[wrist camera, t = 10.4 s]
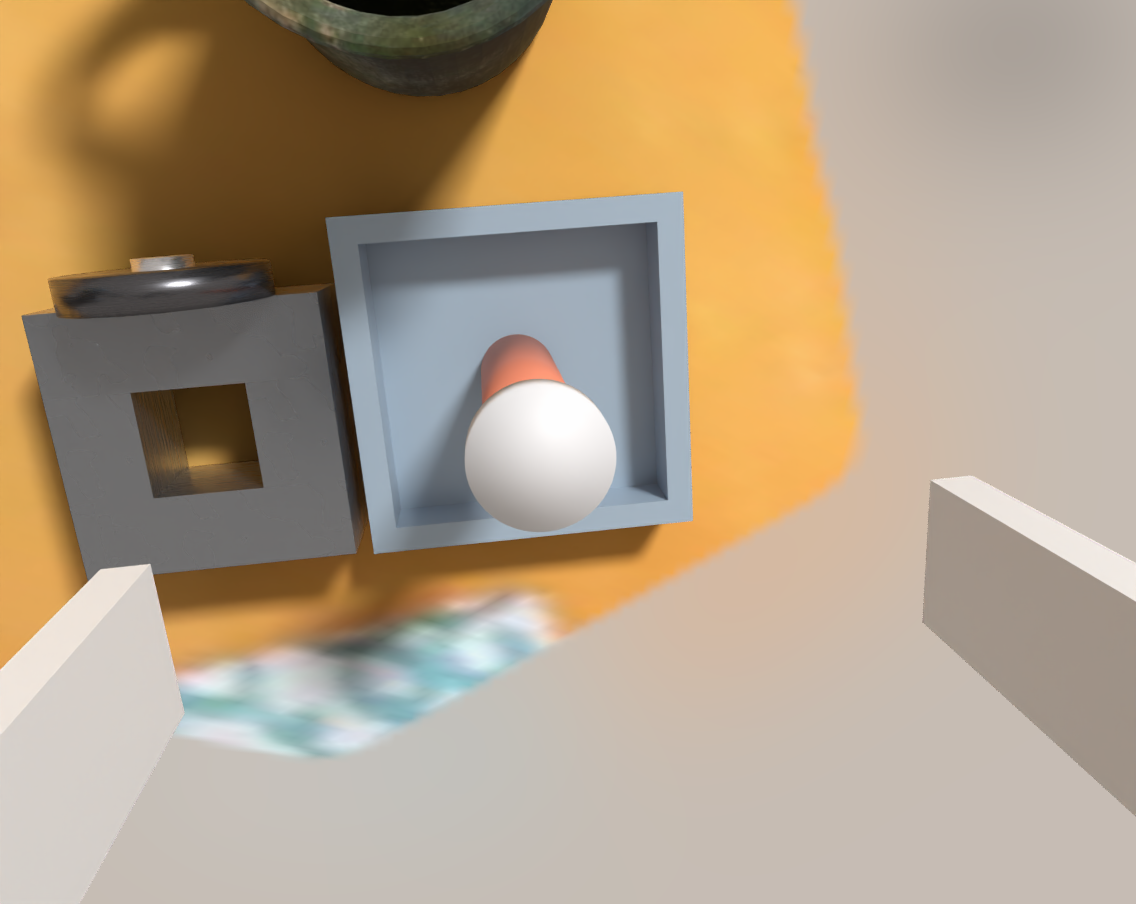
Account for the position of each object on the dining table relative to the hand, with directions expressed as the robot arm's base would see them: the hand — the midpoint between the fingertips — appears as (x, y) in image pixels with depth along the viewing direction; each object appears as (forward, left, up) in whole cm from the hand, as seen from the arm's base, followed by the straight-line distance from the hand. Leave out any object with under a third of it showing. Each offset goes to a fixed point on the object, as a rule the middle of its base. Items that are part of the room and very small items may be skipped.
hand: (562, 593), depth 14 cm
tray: (0, 0, -22) cm, 22 cm away
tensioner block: (-12, -1, -22) cm, 25 cm away
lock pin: (0, 0, -21) cm, 21 cm away
